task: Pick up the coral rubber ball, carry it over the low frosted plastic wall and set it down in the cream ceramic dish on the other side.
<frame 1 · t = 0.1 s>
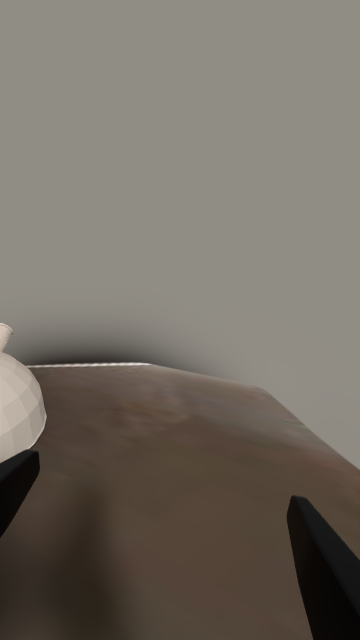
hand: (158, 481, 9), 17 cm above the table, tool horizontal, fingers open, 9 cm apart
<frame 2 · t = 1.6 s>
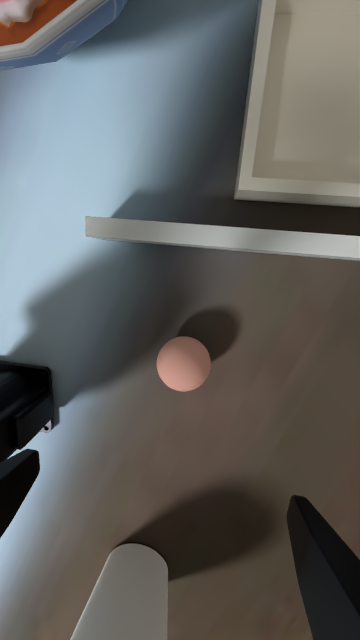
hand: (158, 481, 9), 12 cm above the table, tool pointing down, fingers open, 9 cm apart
cup: (138, 562, 27), on the table
dish: (328, 114, 15), on the table
wall: (238, 242, 18), on the table
ball: (183, 363, 18), point 2 cm above the table
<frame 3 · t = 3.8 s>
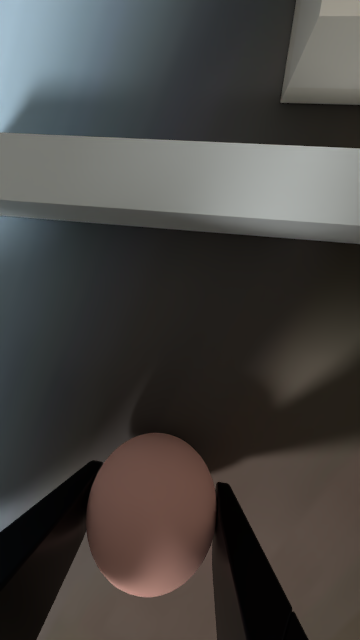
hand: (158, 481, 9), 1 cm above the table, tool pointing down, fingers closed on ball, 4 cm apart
wall: (286, 216, 7), on the table
ball: (153, 501, 8), point 2 cm above the table, touching gripper
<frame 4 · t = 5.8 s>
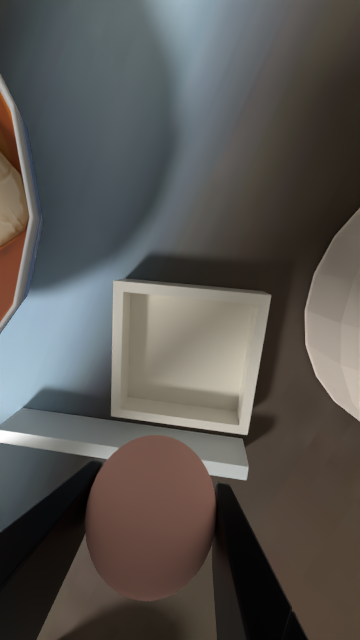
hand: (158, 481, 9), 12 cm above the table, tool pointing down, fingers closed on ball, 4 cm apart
dish: (186, 349, 20), on the table
wall: (128, 428, 22), on the table
ball: (152, 504, 8), point 12 cm above the table, touching gripper
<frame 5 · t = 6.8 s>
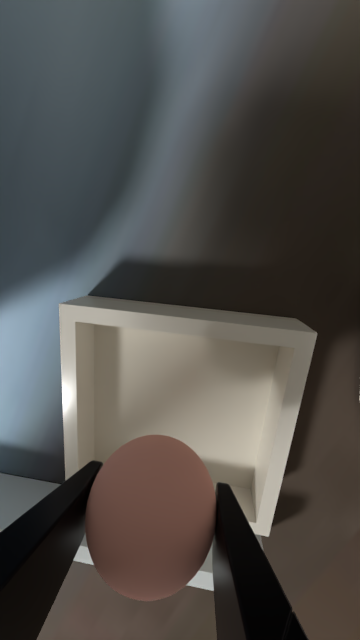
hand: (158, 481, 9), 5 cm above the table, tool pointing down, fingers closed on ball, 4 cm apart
dish: (178, 399, 13), on the table
wall: (98, 498, 16), on the table
ball: (152, 504, 8), point 6 cm above the table, touching gripper
when the fingers open (3 cm above the table, at t = 7.8 s): ball drops 1 cm, resting on dish.
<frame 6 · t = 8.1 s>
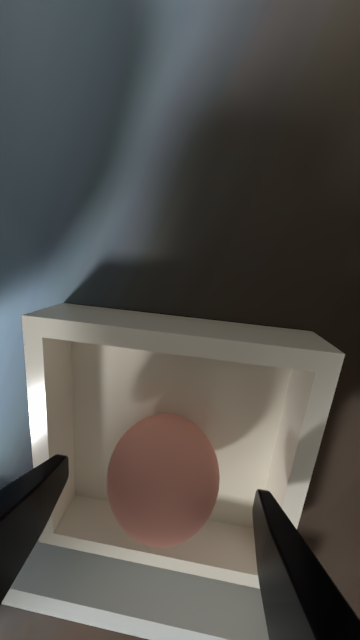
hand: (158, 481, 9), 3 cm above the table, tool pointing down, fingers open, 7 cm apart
dish: (171, 424, 11), on the table
wall: (82, 533, 14), on the table
ball: (163, 472, 9), point 3 cm above the table, touching dish
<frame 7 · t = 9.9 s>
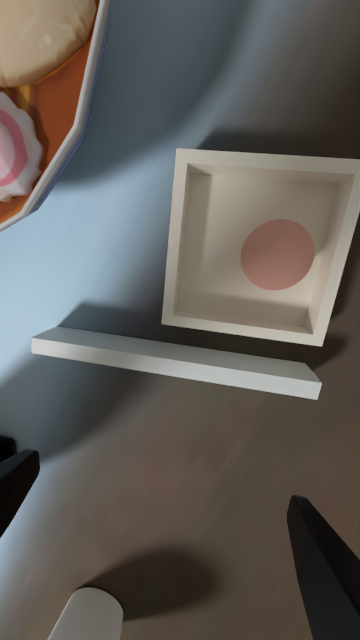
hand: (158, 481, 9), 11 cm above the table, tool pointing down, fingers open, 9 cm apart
cup: (98, 603, 29), on the table
dish: (248, 253, 17), on the table
wall: (173, 350, 20), on the table
ball: (275, 256, 14), point 3 cm above the table, tilted 38°, touching dish
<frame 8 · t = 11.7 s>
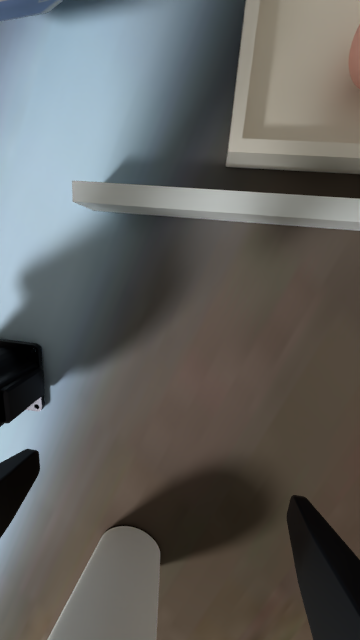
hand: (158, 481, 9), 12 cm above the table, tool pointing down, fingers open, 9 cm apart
cup: (130, 546, 26), on the table
dish: (323, 75, 15), on the table
wall: (230, 211, 17), on the table
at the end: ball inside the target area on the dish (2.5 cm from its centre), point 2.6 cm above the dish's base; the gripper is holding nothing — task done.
